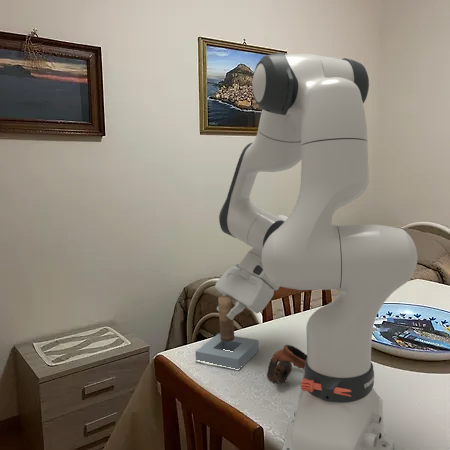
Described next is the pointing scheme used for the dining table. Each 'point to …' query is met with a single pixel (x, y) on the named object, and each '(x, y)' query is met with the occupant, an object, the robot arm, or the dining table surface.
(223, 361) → the socket block
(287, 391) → the dining table surface
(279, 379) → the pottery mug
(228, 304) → the peg
